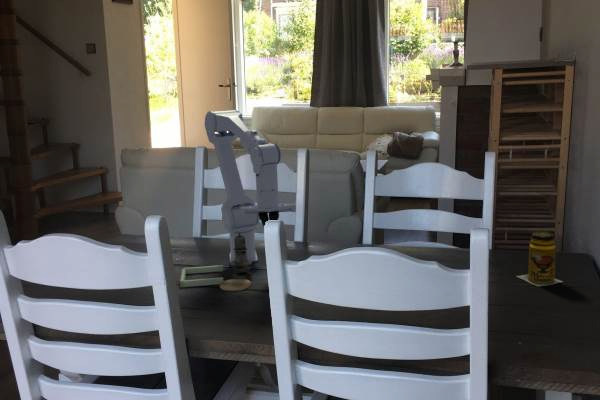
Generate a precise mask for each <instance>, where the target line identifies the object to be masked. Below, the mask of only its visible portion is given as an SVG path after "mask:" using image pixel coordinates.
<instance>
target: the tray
mask: <svg viewBox="0 0 600 400" xmlns="http://www.w3.org/2000/svg"><path fill="white" fill-rule="evenodd" d="M215 272H217V273H218V272H224V264H219V265H208V266H206V265H205V266H194V267H193V266H192V267H191V266H190V267H182V270H181V274H180V281H179V285H180V288H186V287H187V288H189V287H200V286H211V285H220V283H222V282H223V281H224V277H223V276H222V277H211V278H201V279H200V278H199V279H198V278H197V279H188V280H186V276H187V275H190V274H202V273H215Z"/></svg>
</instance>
